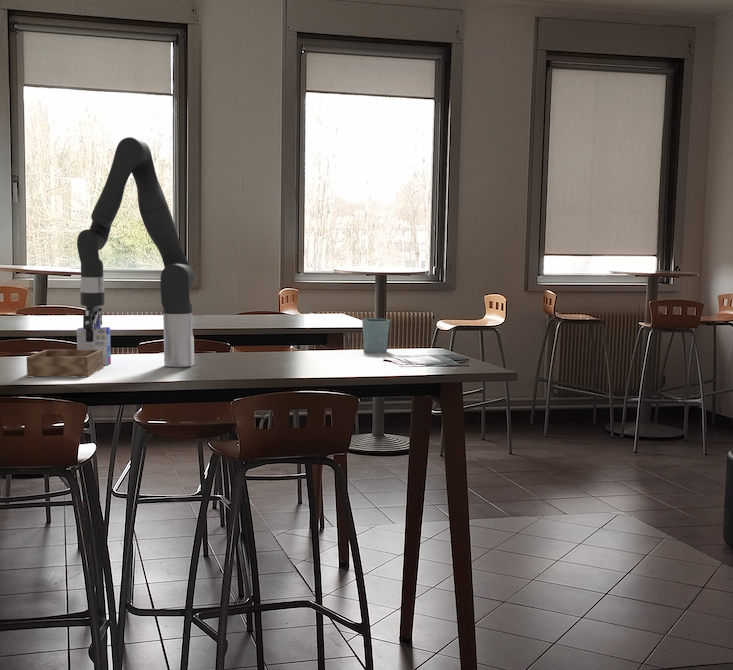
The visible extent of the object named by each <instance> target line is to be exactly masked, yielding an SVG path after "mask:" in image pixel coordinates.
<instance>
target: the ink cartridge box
mask: <svg viewBox="0 0 733 670" xmlns="http://www.w3.org/2000/svg"><path fill="white" fill-rule="evenodd" d="M96 323H98V324H97V325H94V329H93V342H86V330H85V329H83V327H79V328H77V329H76V342H77V343H76V347H77V349H76V350H103V366H108V365H111V364H112V358H111V357H112V356H111V355H112V354H111V328H110V326H108V327H106V326H105V327H103V326H101V327H100V320H97V322H96Z"/></svg>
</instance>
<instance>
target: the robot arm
mask: <svg viewBox="0 0 733 670" xmlns="http://www.w3.org/2000/svg"><path fill="white" fill-rule="evenodd" d="M131 175H132V177H133V179H134V182H135V185H136V191H137V205H138V210H139V215H140V218H141V219H142V223H143V225H144V227H145V229H146V232H147V234H148V236H149V238H150V240H152V242H153V244H154V245H155V247H156V249H157V250H158V253H159V254H160V257H161V259H162V264H163V266H164V268H163V270H162V271H161V273H160V284H159V285H160V300H161V301H160V303H161V306H162V309H163V311H162V312H163V313H162V316H163V358H164V359H163V363H164V365H163V366H164V367H169V368H183V367H184V368H185V367H193V366H194V365H195V337H194V335H193V332H194V331H193V305H192V303H191V299H190V288H191V287H192V285H193V282H194V279H195V277H194V272H193V270H192V267H191V266H190V265H191V264H190V263H189V262H188V259H187V257H186V255H185V253H184V250H183V248H182V245H181V242H180V238H179V236H178V231H177V229H176V228H177V227H176V225H175V222H174V218H173V216H172V212H171V210H170V207H169V205H168V202H167V199H166V196H165V195H164V194H165V193H164V192H163V189H162V185H161V184H160V182H159V180H158V177H157V173H156V169H155V163H154V159H153V156H152V153H151V150H150V147H149V146H148V144H147V142H145V141H143V140H141V139H140V138H136V137H133V136H131V137H130V136H129V137H124V138H122V139H121V140H120V141H119V142H118V144H117V146H116V148H115V152H114V155H113V159H112V163H111V167H110V169H109V173H108V176H107V178H106V182H105V183H104V186H103V189H102V191H101V193H100V195H99V197H98V200H97V201H96V203H95V206H94V208H93V210H92V213H91V215H90V218H91V220H92V221H91V223H90V227H89V229H84V230H82V231H80V232H79V234H77V240H76V247H77V253H78V259H79V262H80V283H79V286H80V287H79V289H80V292H79V294H80V295H79V296H80V298H79V299H80V306H83V307H86V309H84V310H82V317H83V319H82V323H83V324H82V328H83V329H85V330H86V342H93V329H94V325H97V324H98V323H96V322H97V320H100V327H102V325H103V308H102V306H105V303H106V302H105V301H106V300H105V281H104V263H103V261H102V260H101V258H100V253H99V251H100V250H102V249H103V248H104V247H105V245H106V244H107V242H108V240H109V237H110V232H111V229H112V225H113V222H114V220H115V218H116V216H117V214H118V212H119V210H120V208H121V205H122V201H123V197H124V193H125V188H126V185H127V182H128V179H129V178H130V176H131Z"/></svg>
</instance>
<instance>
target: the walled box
mask: <svg viewBox="0 0 733 670" xmlns="http://www.w3.org/2000/svg"><path fill="white" fill-rule="evenodd" d="M102 368H103V369H104V365H103V350H77V349H44V350H42V351H39V352H37V353H34V354H31V355H29V356H27V357H26V377H27V376H89V375H91V374H93V373H94V372H96V371H98V370H99V371H101V370H102ZM100 369H101V370H100ZM99 371H98V372H99ZM96 373H97V372H96ZM94 374H95V373H94ZM94 374H93V375H94ZM91 376H92V375H91ZM89 377H90V376H89Z"/></svg>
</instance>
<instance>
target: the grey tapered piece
mask: <svg viewBox="0 0 733 670" xmlns="http://www.w3.org/2000/svg"><path fill="white" fill-rule="evenodd" d="M361 322H362V339H363V340H362V341H363V342H362V344H363V353H365V354H385V353H388V341H389V333H390V332H389V330H390V324H391V323H390V322H391V321H390V319H387V318H380V317H379V318H373V317H371V318H368V317H367V318H363V319H362V321H361Z"/></svg>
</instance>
